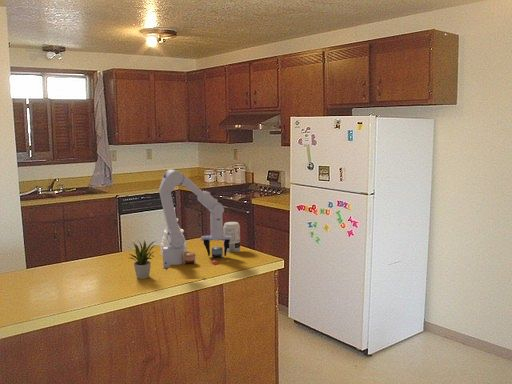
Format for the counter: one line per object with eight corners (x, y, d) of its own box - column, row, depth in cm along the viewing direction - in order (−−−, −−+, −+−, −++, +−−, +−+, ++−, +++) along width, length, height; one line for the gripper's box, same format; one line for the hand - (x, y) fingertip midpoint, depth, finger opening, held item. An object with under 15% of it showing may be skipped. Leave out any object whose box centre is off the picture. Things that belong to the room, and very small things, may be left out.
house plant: (168, 272, 215) (167, 236, 212) (153, 283, 202) (152, 244, 199) (139, 270, 219) (137, 234, 216) (122, 280, 205) (120, 242, 203)
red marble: (211, 267, 222) (211, 261, 221) (212, 265, 225) (211, 259, 224) (217, 267, 222) (217, 261, 221) (218, 265, 224) (218, 259, 224)
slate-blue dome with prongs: (211, 261, 231) (211, 249, 230) (212, 258, 235) (212, 246, 235) (222, 261, 230) (221, 249, 229) (223, 258, 235) (222, 246, 234)
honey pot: (192, 252, 247) (191, 217, 245) (175, 258, 237) (173, 222, 234) (173, 249, 254) (171, 214, 252) (155, 254, 243) (154, 219, 241)
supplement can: (221, 251, 249) (220, 222, 246) (236, 249, 252) (236, 220, 250) (227, 255, 241) (226, 225, 239) (242, 253, 245) (242, 223, 242)
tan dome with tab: (183, 268, 221) (183, 255, 220) (185, 265, 226) (185, 252, 225) (194, 268, 221) (194, 255, 220) (196, 265, 226) (195, 252, 225)
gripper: (199, 229, 227) (200, 257, 229) (231, 229, 226) (231, 257, 228) (202, 225, 234) (202, 253, 236) (232, 225, 233) (232, 253, 235)
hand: (217, 255), depth 233 cm, fingers open, 7 cm apart
